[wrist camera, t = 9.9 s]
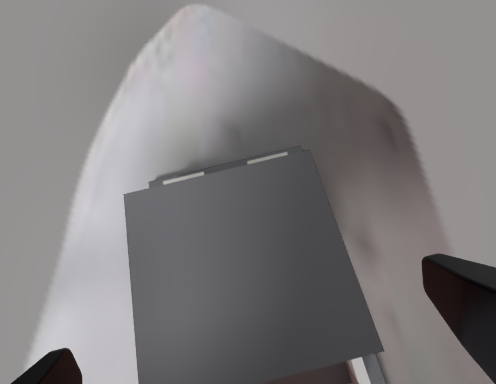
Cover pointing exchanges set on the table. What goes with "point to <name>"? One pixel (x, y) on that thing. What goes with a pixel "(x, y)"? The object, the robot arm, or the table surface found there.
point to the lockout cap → (242, 277)
